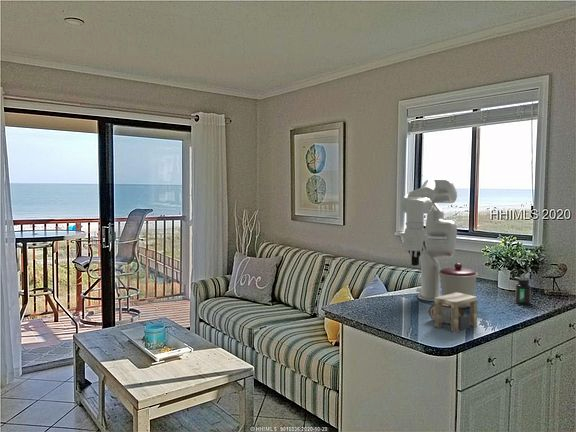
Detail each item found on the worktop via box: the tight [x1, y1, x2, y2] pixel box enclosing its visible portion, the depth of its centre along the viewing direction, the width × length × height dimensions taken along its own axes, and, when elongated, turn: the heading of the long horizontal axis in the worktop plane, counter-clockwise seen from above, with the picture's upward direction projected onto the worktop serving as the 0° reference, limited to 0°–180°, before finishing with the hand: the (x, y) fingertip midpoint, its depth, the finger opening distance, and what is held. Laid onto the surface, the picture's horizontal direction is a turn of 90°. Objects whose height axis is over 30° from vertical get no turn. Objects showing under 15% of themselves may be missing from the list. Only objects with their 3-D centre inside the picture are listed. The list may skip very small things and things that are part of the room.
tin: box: [428, 302, 466, 326], centre depth 194 cm, size 15×3×8 cm, turn 50°
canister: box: [439, 262, 479, 309], centre depth 221 cm, size 18×18×21 cm
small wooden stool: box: [433, 292, 478, 333], centre depth 189 cm, size 10×15×12 cm, turn 125°
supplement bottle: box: [514, 278, 532, 306], centre depth 224 cm, size 7×7×12 cm
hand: (415, 265), depth 208 cm, fingers closed
